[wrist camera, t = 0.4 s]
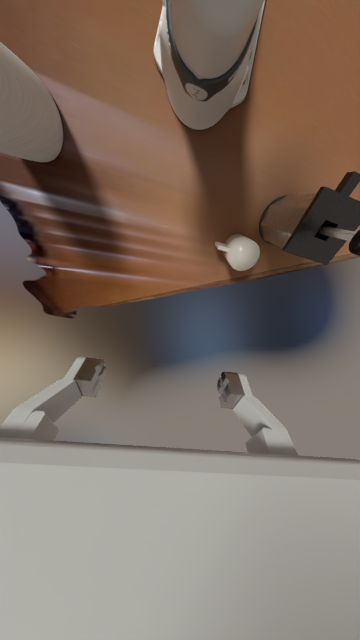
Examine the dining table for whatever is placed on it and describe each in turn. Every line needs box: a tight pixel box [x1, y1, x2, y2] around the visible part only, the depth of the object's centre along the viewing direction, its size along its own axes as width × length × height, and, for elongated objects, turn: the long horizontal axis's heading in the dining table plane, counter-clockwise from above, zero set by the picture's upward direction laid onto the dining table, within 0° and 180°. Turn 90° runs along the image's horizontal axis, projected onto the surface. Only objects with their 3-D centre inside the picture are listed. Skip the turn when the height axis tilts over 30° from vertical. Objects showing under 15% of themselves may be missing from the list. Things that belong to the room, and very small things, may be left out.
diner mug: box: [215, 234, 260, 271], centre depth 46 cm, size 8×11×9 cm
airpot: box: [259, 171, 360, 265], centre depth 38 cm, size 15×12×18 cm
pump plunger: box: [317, 226, 360, 256], centre depth 30 cm, size 4×4×21 cm
